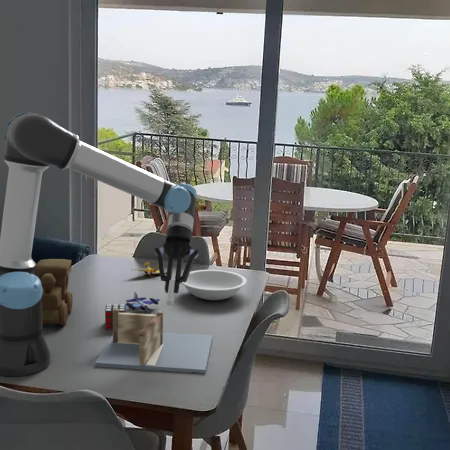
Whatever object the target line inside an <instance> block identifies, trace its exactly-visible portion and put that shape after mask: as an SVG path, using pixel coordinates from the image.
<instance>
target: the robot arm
mask: <svg viewBox="0 0 450 450" xmlns="http://www.w3.org/2000/svg"><path fill="white" fill-rule="evenodd" d="M3 135H4V139H5V147H4V149H5V150H4V157H3V161H4V163H6V165H7V166H8V174H7V182H6V187H5V188H6V191H5V198H4V205H3V213H2V221H1V229H0V376H2V377H23V376H24V377H25V376H29V375H32V374H36V373H39V372H41V371H43V370H45V369H46V368H48V366H50V364H51V351H50V349H49V346H48V344H47V341H46V339H45V336H44V331H43V330H44V329H43V325H44V323H43V321H42V291H43V290H42V286H41V281H40V279H39V276H36V274H35V267H36V264H37V263H36V262H35V261H34V260H33V258H32V251H33V245H34V238H35V237H34V236H35V229H36V221H37V215H38V208H39V207H38V206H39V201H40V200H39V199H40V192H41V185H42V177H43V173H44V171H46V170H48V169H49V168H50V166H52V167H55V168H58V169H60V170H62V171H64V170H66V169H70V170H72V171H75V172H77V173H79V174H81V175H84V176H87V177H89V178H91V179H93V180H97V182H101V183H103V184H106V185H108V186H110V187H113V188H114V189H117V190H119V191H122V192H124V193H126V194H129V195H131V196H134V197H136V198H139V199H141V200H143V201H145V202H147V203H151V204H152V205H154V206H157V207H159V208H162V209H163V210H166V211H167V212H169V214H168V223H167V229H166V234H165V235H166V236H165V240H164V241H165V242H164V243H163V245H162V247H160V248H158V247H156V248H154V252H155V256H156V257H157V261H158V263H157V264H158V265H159V268H158V271H159V277H160V281H161V282H165V284H164V291H165V293H166V294H167V296H166V303H167V306H174V300H175V294H179V291H180V286H181V282H186V281H187V279H188V276H189V274H190V272H191V271H192V269H193V266H194V264H195V261H196V260H197V259H198V258H199V251H198V250H197V249H193V248H192V245H191V244H192V237H193V229H194V219H195V213H196V207H197V199H198V198H197V197H198V196H197V190H196V188H195V187H194V186H193V185H191V184H189V183H187V184H186V183H185V182H181V183H177V184H176V183H173V182H172V181H169V180H168V179H165V178H163V177H160V176H158V175H156V174H154V173H151V172H149V171H147V170H144V169H143V168H140V167H138V166H136V165H134V164H132V163H129V162H127V161H125V160H123V159H120V158H119V157H117V156H114V155H112V154H109V153H108V152H105V151H103V150H101V149H99V148H97V147H95V146H92V145H90V144H87V142H83V141H81V140H80V138H79V135H78V134H76V133H74V132H72V131H70V130H67V129H65V127H63V126H61V125H60V124H58V123H56V122H54V121H53V120H52V119H50V118H48V117H46V116H44V115H41V114H38V113H35V112H30V111H29V112H28V111H27V112H26V111H25V112H21V113H18V114H16V115H14V116H13V117H12V118H11V119H10V120H9V121H8V122H7V124H6V126H5V128H4V134H3ZM164 253H165V254H166V255H167V257H168V261H167V269H166V274H165V269H164V260H163V256H164ZM188 255H189V258H188V260H187V263H186V264H185V268H184V270H183V272H182V269H183V262H184V259H185V258H186V257H187V256H188ZM175 260H177V261H176V269H175V276H174V279H172V276H173V271H174V264H175Z"/></svg>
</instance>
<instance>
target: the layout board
mask: <svg viewBox="0 0 450 450" xmlns="http://www.w3.org/2000/svg"><path fill="white" fill-rule="evenodd" d="M212 343H213V335H210V334H194V333H193V334H192V333H177V332H164V331H163V344H162V345H159V346H158V348H157V349H156V350H155V351H154V353H153V354H152V355H151V356H150V358H149V359H148V360H147V361H146V363H145V364H144V365H140V364H139V350H140V343H128V342H113V334H112V336H111V337H110V339H109V340H108V341H107V343H106V345H105V347H104V348H103V350H102V351H101V353H100V355H99V356H98V358H97V359H96V361H95V363H94V365H95V367H101V368H102V367H104V368H118V369H133V370H135V369H136V370H147V371H148V370H149V371H151V370H152V371H161V370H162V372H165V371H166V372H177V371H183V372H182V373H192V372H199V373H198V374H206V372H207V366H208V363H207V362H208V361H209V356H210V354H211V353H210V352H211V347H212ZM163 370H165V371H163Z"/></svg>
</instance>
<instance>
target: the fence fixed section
mask: <svg viewBox="0 0 450 450" xmlns="http://www.w3.org/2000/svg"><path fill="white" fill-rule="evenodd" d="M156 315H160V316H161V331H160V345H162V344H163V332H164V311H161V310H160V311H157V312H156V314H151V313H150V314H148V313H135V312H134V313H133V312H126V313H119V309H113V329H112V335H113V342H128V343H140V336H139V333H140V332H141V331H142V330H143V329H144V328H145V327H146V326H147V325H148V323H149V322H150V321H151V320H152V319H153V318H154V317H155V316H156Z"/></svg>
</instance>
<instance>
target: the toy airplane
mask: <svg viewBox="0 0 450 450" xmlns="http://www.w3.org/2000/svg"><path fill="white" fill-rule="evenodd" d="M133 293H134V295H133V298H129V299H125V302H126V303H125V305H126V308H128V309H130V310H133V311H134V310H135V308H139V310H141V311H144V312H147V311H148V312H147V314H151V313H150V312H152V313H155V314H156V312H155V311H154V310H153V309H151V306H150V305H153V304H154V305H156V306H157V305H159V302H160V301H161V300H160V299H159V298H153V297H150V298H149V299H147V298H146V297H145V296H144V297H139V296H138V294H137V292H136V291H133Z"/></svg>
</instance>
